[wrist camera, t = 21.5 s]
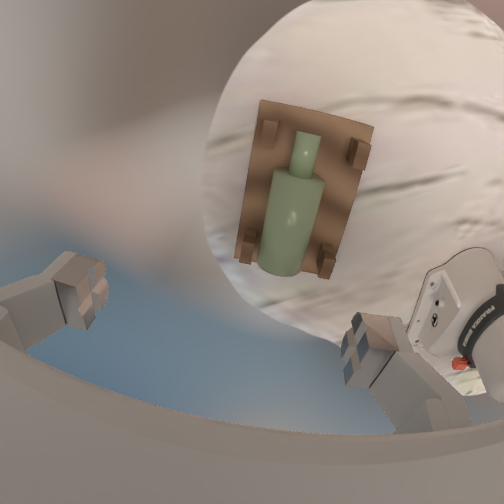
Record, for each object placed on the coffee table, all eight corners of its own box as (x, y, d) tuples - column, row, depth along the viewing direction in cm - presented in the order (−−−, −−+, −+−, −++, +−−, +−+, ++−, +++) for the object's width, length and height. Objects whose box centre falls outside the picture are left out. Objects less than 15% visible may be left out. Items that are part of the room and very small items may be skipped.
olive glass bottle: (310, 267, 40) (345, 141, 31) (280, 282, 36) (315, 139, 28) (277, 247, 43) (303, 128, 35) (246, 258, 40) (271, 125, 31)
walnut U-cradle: (327, 271, 45) (331, 292, 40) (235, 253, 45) (229, 273, 40) (371, 126, 33) (383, 131, 29) (261, 99, 34) (258, 100, 29)
